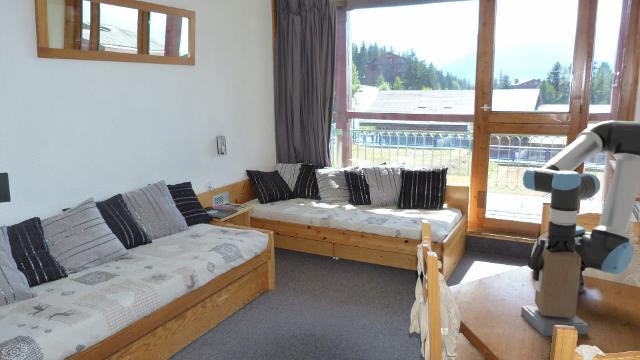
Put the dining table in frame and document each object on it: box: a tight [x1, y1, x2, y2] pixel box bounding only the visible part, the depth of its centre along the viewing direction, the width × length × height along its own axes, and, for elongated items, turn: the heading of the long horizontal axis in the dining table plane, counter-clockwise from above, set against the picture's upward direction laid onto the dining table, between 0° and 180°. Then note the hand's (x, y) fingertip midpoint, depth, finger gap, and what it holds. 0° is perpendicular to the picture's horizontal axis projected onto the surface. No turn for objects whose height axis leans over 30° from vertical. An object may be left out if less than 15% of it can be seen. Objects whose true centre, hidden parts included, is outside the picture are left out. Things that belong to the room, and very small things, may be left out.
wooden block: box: [534, 245, 581, 318], centre depth 153 cm, size 10×10×20 cm
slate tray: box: [520, 305, 589, 337], centre depth 156 cm, size 14×14×3 cm
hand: (556, 289), depth 154 cm, fingers closed on wooden block, 11 cm apart
